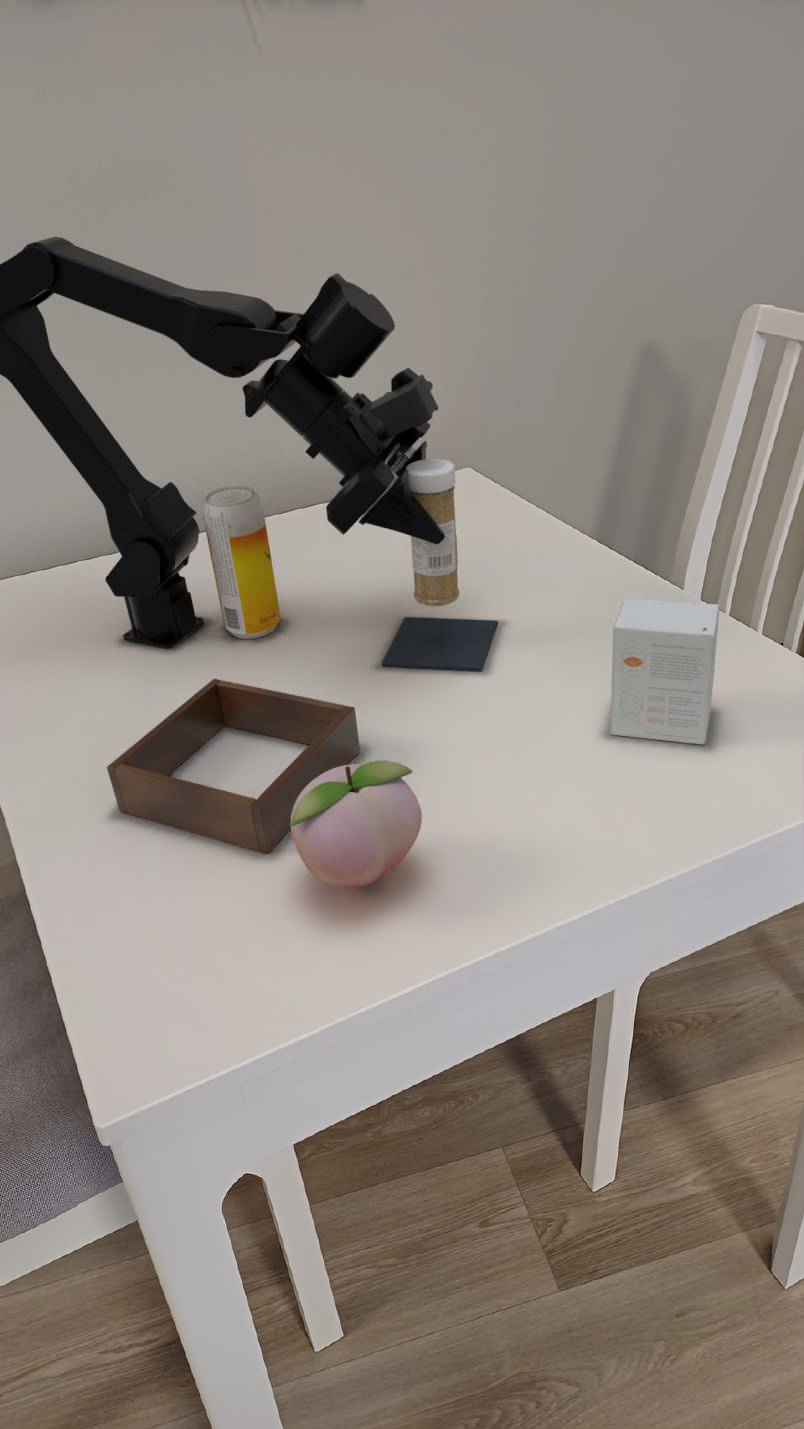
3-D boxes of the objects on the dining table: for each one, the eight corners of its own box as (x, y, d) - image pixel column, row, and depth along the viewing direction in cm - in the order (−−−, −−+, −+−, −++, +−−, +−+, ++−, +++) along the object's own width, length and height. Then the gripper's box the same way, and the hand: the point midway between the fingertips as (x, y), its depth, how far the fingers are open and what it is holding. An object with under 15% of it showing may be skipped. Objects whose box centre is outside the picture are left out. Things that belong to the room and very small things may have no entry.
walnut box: (119, 811, 81) (106, 766, 79) (222, 720, 92) (213, 678, 89) (268, 854, 75) (259, 807, 73) (360, 750, 86) (355, 707, 83)
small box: (711, 711, 87) (722, 603, 81) (705, 747, 82) (717, 635, 77) (618, 701, 89) (623, 595, 83) (608, 735, 85) (612, 626, 79)
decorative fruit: (373, 823, 77) (360, 715, 72) (445, 872, 72) (437, 759, 66) (274, 882, 72) (252, 770, 67) (343, 939, 67) (325, 823, 61)
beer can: (291, 618, 108) (271, 486, 100) (262, 644, 104) (239, 508, 96) (245, 611, 111) (221, 482, 103) (214, 636, 106) (187, 502, 98)
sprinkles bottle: (459, 587, 100) (455, 456, 93) (459, 607, 96) (454, 472, 89) (414, 588, 100) (406, 458, 93) (412, 609, 96) (403, 474, 89)
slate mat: (381, 666, 98) (381, 663, 98) (405, 620, 106) (404, 616, 106) (481, 671, 96) (481, 668, 95) (497, 623, 104) (497, 620, 103)
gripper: (349, 376, 79) (489, 512, 82) (403, 325, 94) (520, 441, 97) (269, 471, 85) (403, 594, 88) (332, 408, 100) (444, 515, 103)
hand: (446, 531), depth 94 cm, fingers closed on sprinkles bottle, 4 cm apart
